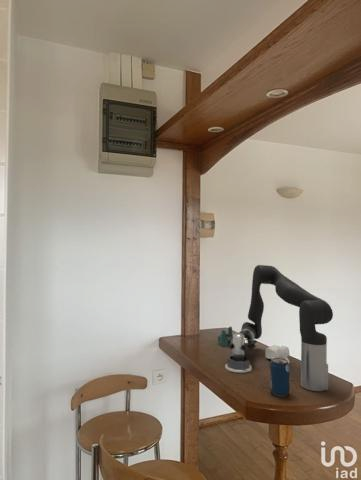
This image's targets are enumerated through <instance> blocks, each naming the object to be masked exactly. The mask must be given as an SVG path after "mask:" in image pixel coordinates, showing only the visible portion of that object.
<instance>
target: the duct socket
mask: <svg viewBox="0 0 361 480" xmlns="http://www.w3.org/2000/svg"><path fill="white" fill-rule="evenodd" d="M252 368H253V367H252V365H251V364H250V357H249V356H246V355H244V361H234V360H233V354H231V355H227V363H225V365H224V369H225V370H226V371H227V372H229V373H235V374H247V373H250V372H251V371H252V370H253V369H252Z"/></svg>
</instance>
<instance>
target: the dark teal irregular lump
mask: <svg viewBox="0 0 361 480" xmlns="http://www.w3.org/2000/svg"><path fill="white" fill-rule="evenodd" d="M227 328H228V329H227V330H225V329H222V330H221V333H219V335H218V336H217V342H218V345H219V346H221V347H224V348H229V346H227V340H228V337H229V338H231V339H233V334H234V333H233V327H232V326H229V327H227ZM227 331H228V332H227ZM226 332H227V333H226Z"/></svg>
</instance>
